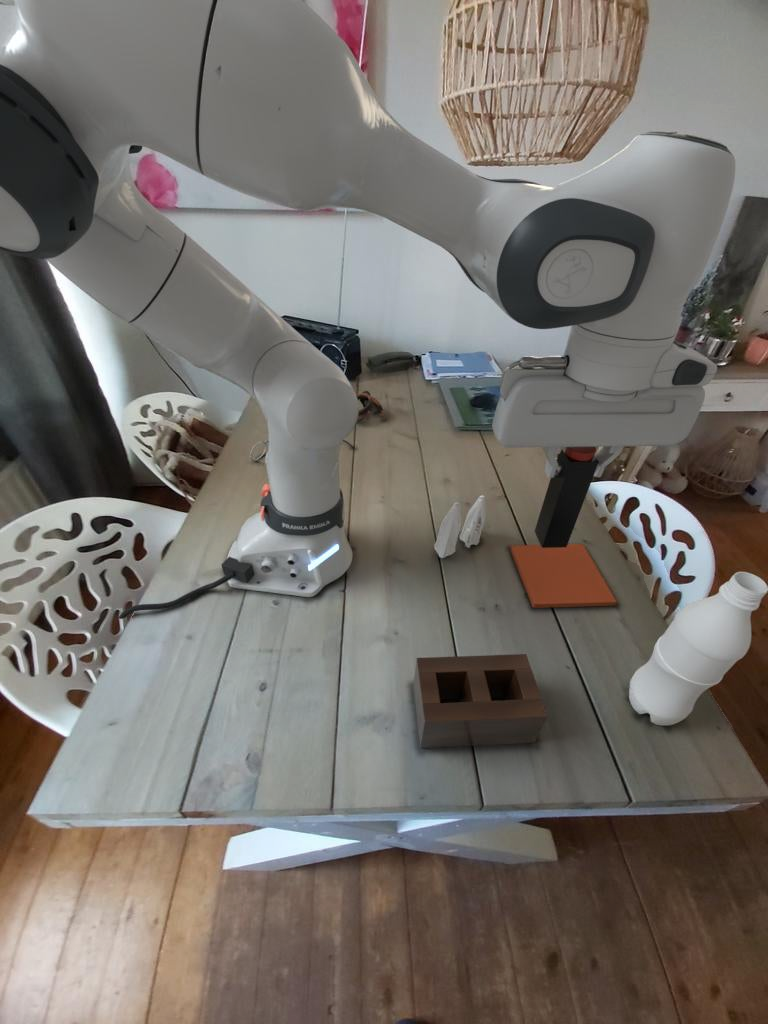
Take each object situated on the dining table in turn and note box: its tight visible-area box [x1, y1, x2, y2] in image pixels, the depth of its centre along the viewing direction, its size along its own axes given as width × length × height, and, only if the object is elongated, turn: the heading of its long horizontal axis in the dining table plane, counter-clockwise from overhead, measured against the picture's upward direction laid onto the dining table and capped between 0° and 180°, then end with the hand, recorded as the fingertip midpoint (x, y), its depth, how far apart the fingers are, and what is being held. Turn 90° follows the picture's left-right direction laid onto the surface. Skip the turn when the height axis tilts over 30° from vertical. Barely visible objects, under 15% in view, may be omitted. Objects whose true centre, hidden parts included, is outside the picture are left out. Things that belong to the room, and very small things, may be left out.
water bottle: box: [628, 571, 768, 726], centre depth 52 cm, size 7×7×25 cm
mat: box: [509, 543, 618, 609], centre depth 78 cm, size 14×14×1 cm
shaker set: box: [433, 495, 487, 559], centre depth 80 cm, size 12×4×11 cm, turn 126°
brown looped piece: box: [356, 390, 385, 422], centre depth 122 cm, size 12×10×8 cm
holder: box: [412, 653, 549, 749], centre depth 57 cm, size 8×15×7 cm, turn 93°
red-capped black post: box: [534, 447, 599, 548], centre depth 53 cm, size 3×3×14 cm
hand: (572, 474), depth 51 cm, fingers closed on red-capped black post, 3 cm apart
